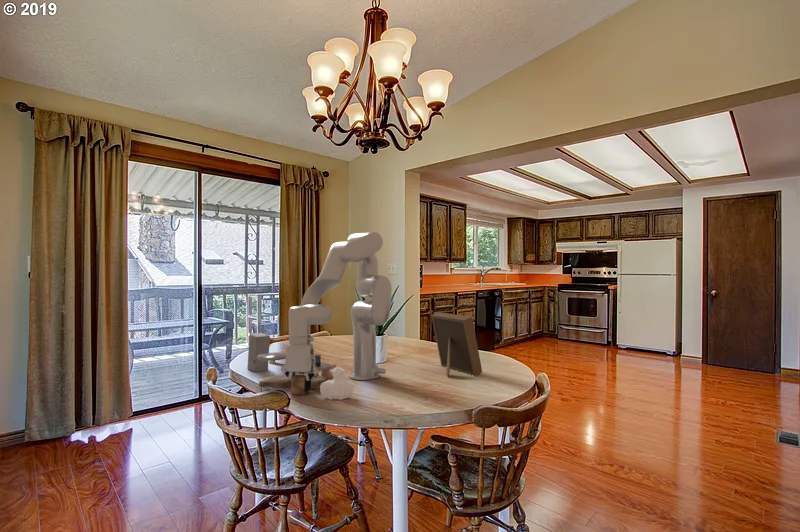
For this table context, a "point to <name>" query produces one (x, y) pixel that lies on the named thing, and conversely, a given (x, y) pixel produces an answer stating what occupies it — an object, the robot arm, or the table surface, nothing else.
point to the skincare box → (258, 351)
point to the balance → (279, 356)
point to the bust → (337, 386)
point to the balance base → (284, 382)
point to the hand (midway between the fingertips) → (300, 389)
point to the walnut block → (298, 384)
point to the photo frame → (457, 343)
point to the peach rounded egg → (328, 372)
